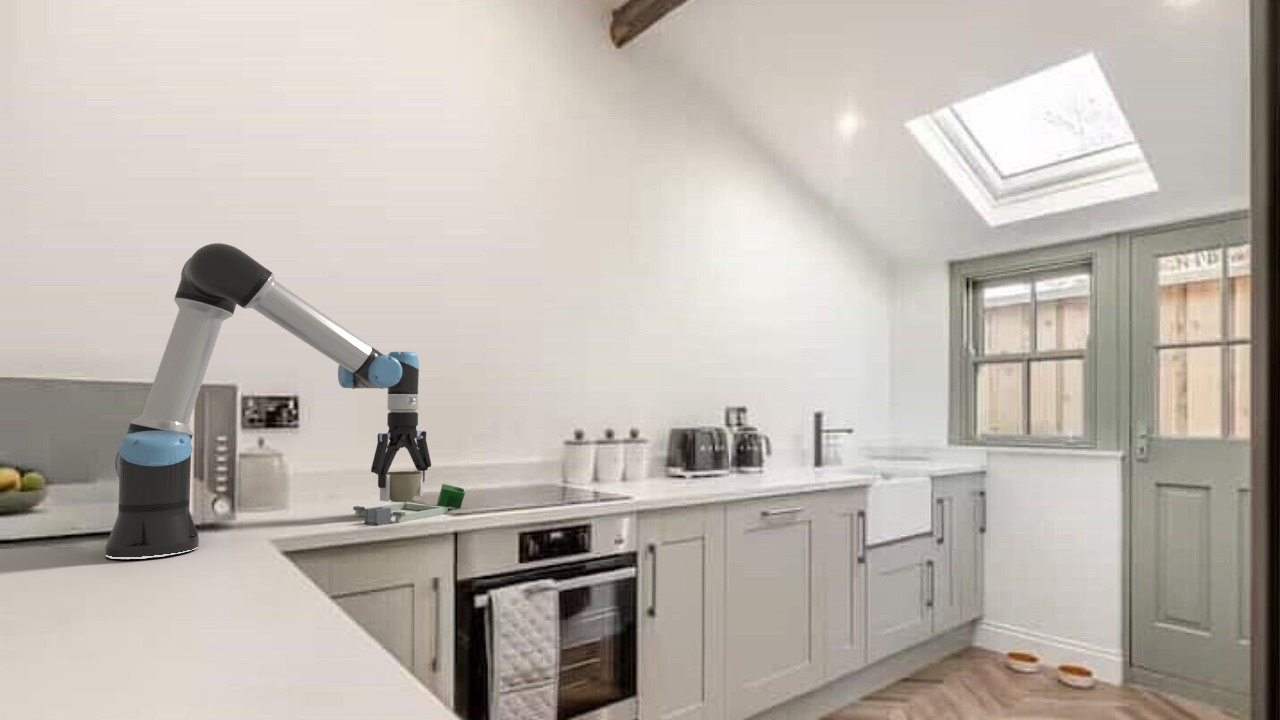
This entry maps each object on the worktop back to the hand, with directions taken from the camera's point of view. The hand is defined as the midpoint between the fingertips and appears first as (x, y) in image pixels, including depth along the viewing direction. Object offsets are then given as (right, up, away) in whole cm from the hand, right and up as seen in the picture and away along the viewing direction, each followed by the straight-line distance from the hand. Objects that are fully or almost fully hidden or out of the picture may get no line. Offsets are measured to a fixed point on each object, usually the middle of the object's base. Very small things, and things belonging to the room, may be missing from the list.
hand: (401, 498), depth 184 cm
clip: (-2, -4, -12) cm, 13 cm away
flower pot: (0, -1, 0) cm, 1 cm away
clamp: (+9, -5, +12) cm, 16 cm away
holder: (0, -4, 0) cm, 4 cm away
